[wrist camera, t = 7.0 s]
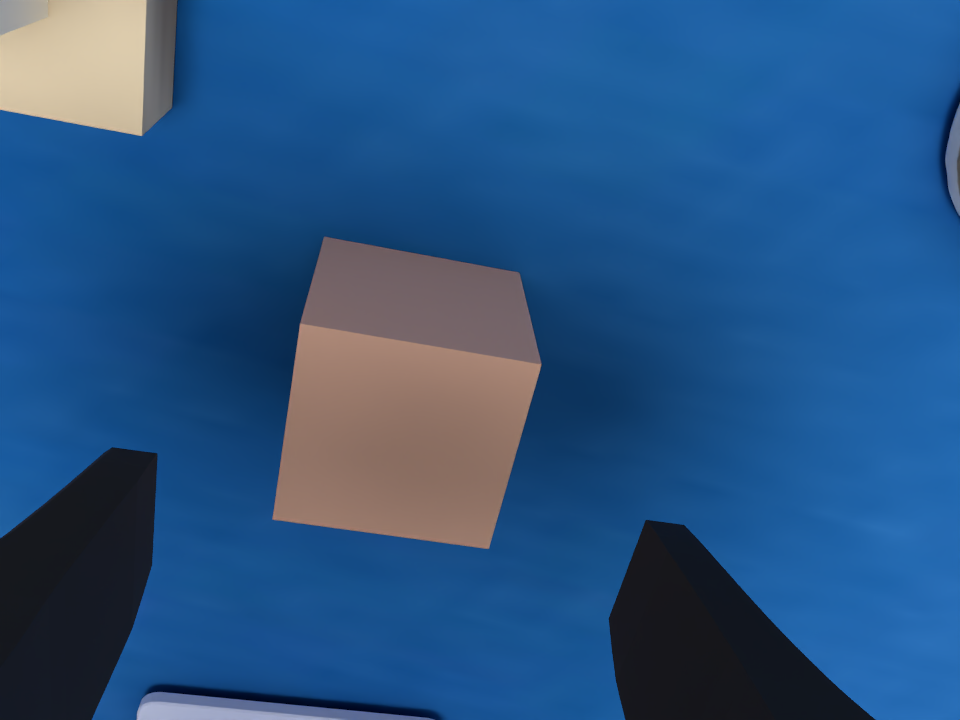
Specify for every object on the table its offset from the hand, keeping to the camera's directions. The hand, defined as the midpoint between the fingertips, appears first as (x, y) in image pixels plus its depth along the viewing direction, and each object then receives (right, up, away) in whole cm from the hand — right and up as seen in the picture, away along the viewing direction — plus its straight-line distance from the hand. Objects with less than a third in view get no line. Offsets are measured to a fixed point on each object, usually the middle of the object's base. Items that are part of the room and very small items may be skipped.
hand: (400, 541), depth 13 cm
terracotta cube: (0, +3, +6) cm, 7 cm away
